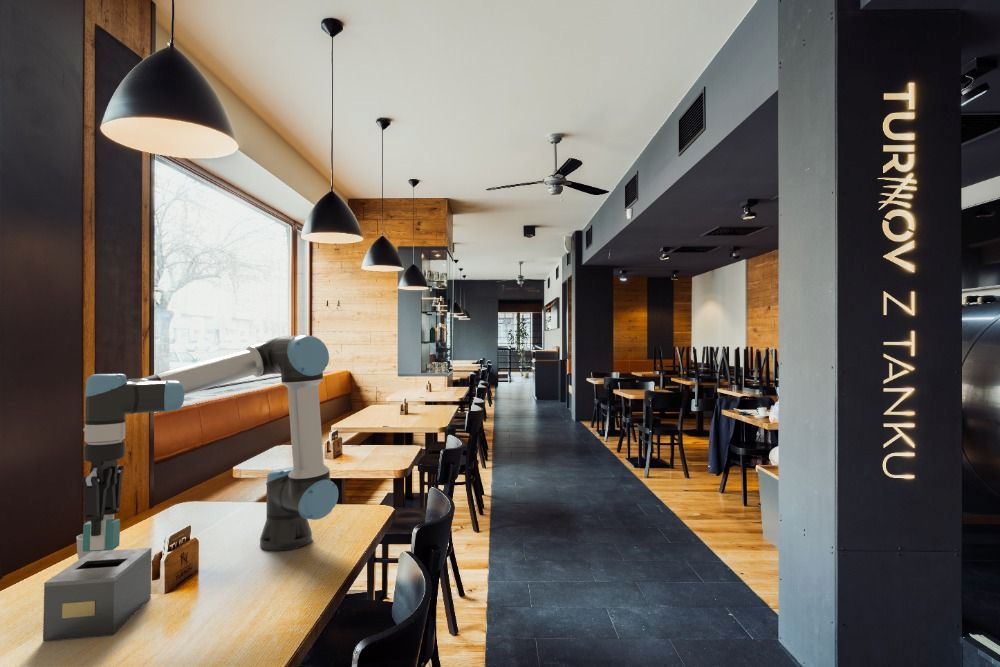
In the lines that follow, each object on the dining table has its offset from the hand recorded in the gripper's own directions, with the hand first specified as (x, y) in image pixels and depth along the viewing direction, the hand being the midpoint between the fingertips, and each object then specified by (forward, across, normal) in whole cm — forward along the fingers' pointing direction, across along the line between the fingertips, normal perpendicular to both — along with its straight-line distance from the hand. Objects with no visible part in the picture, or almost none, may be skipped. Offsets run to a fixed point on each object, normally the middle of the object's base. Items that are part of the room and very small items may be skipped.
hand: (101, 546), depth 123 cm
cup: (+16, -30, -16) cm, 37 cm away
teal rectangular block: (0, 0, 0) cm, 0 cm away
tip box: (+16, 0, 0) cm, 16 cm away
